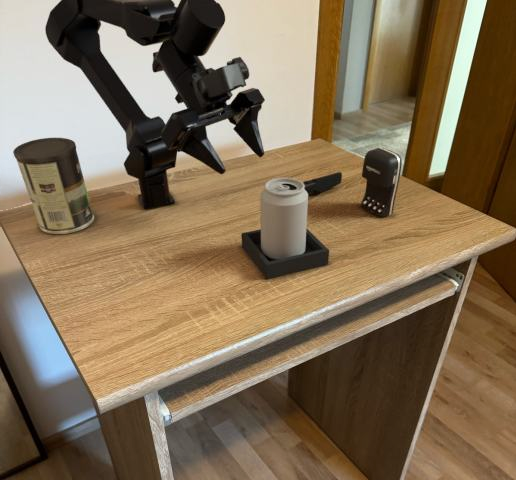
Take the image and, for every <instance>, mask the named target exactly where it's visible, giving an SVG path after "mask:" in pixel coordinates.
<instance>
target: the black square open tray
mask: <svg viewBox="0 0 516 480" xmlns="http://www.w3.org/2000/svg"><path fill="white" fill-rule="evenodd" d="M240 235H241V248H242V249H243V250H244V252H245V253H246V255H247V256H248V257H249V258H250V260H251V261H252V262H253V264H254V265H255V266H256V267H257V269H258V270H259V271H260V273H261V274H262V276H263V277H264V278H265V279H266V280H270V279H274V278H278V277H282V276H286V275H290V274H294V273H299V272H302V271H307V270H311V269H315V268H319V267H324V266H328V265H329V260H330V259H329V257H330V250H329V249H328V247H326V246H325V244H324V243H322V241H320V240H319V239H318V238H317V236H315V235H314V234H313V233H312V232H311V230H309V229H308V228H307V227H306V245H305V252H304V253H303V254H300V255H295V256H291V257H287V258H282V259H278V260H272V259H270V258H269V257H267V256H266V255H265V254H264V253H263V252H262V250H261V228H259V229H256V230H250V231H246V232H241V234H240Z"/></svg>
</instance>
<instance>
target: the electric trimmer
mask: <svg viewBox="0 0 516 480" xmlns="http://www.w3.org/2000/svg"><path fill="white" fill-rule="evenodd" d="M342 178H343V174H342V172H340V171H339V172H334V173H331V174H327V175H324V176H320V177H316V178H312V179H309V180H305V181H302V182H303V184H304V185H305V188H304V189H305V190H306V192H307V193H308V196H309V195H312V194H321V193H324V192H326V191H328V190H330V189H332V188H334V187H336V186H339V185H340V184H341V183H342Z"/></svg>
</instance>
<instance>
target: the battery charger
mask: <svg viewBox="0 0 516 480" xmlns="http://www.w3.org/2000/svg"><path fill="white" fill-rule="evenodd" d="M402 162H403V161H402V157H401V156H400V154H398V153H396V152H395V151H392V150H390V149H387V148H385V147H376V148H374V149H370V150H368V151H367V152H366V153H365V155H364V160H363V164H362V170H361V177H362V178H364V179H365V180H366V184H365V191H364V195H363V198H362V200H361V203H360V206H361V207H362V208H363V209H364V210H366V211H368V212H370V214H371V213H372V214H373V215H375V216H377V217H387V216H391V215H392V214H393V213H394V208H395V202H396V197H397V192H398V187H399V184H400V183H399V182H400V179H401V178H400V176H401V171H402V164H403V163H402Z"/></svg>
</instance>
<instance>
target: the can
mask: <svg viewBox="0 0 516 480" xmlns="http://www.w3.org/2000/svg"><path fill="white" fill-rule="evenodd" d="M303 182H304V181H301V180H299V179H297V178H292V177H276V178H272V179H270V180H267V181H266V182H265V183H264V186H263V187H264V189H263V190H262V191H261V192H260V197H259V199H260V200H259V201H260V205H259V207H260V229H261V250H262V252H263V253H264V254H265V255H266V256H267V257H269V258H270V259H272V260H278V259H282V258H287V257H291V256H295V255H300V254H303V253H304V252H305V245H306V228H307V225H308V209H309V208H308V206H309V205H308V204H309V195H308V193H307V192H306V190H305V189H304V188H305V185H304V184H303Z"/></svg>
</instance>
